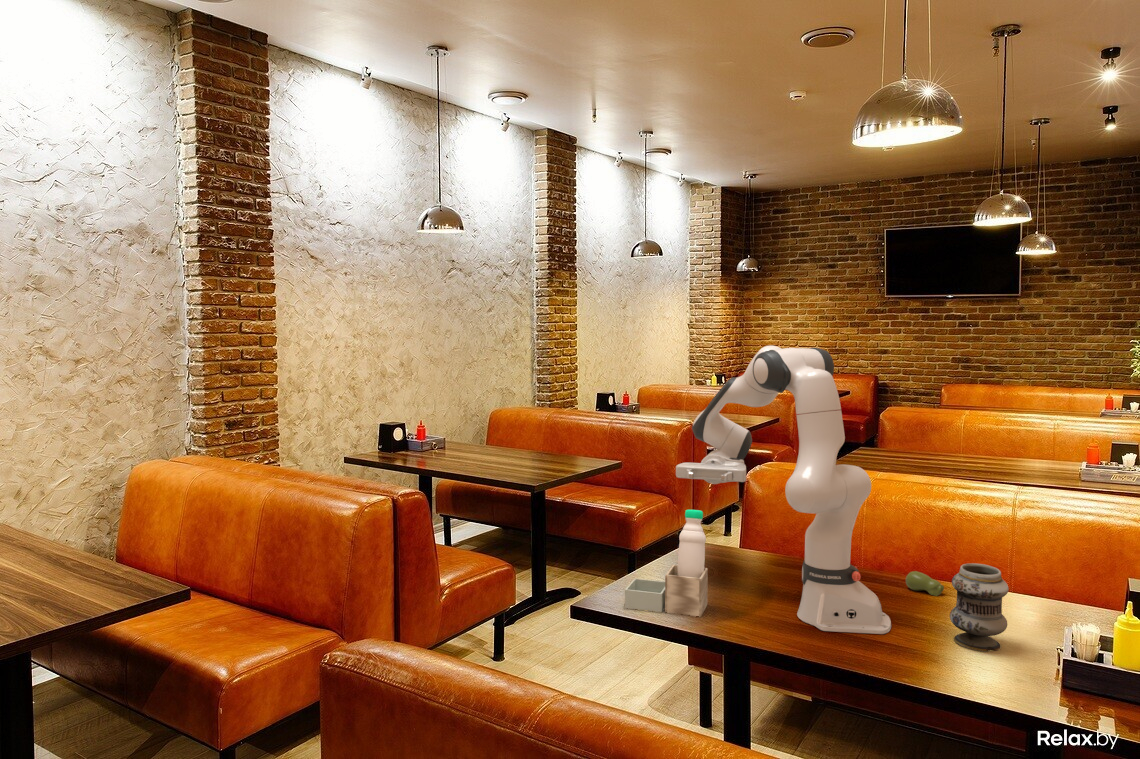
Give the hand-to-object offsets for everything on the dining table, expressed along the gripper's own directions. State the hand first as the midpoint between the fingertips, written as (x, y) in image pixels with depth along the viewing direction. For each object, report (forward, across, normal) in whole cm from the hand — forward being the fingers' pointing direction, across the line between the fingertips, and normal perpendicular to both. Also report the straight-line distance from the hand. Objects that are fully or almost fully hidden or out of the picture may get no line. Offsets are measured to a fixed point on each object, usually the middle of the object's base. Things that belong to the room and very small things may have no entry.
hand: (706, 477), depth 224 cm
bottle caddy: (+18, -12, +32) cm, 39 cm away
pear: (-17, +58, +32) cm, 69 cm away
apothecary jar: (+18, +67, +32) cm, 77 cm away
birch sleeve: (+18, -2, +32) cm, 37 cm away
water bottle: (+19, -1, +31) cm, 36 cm away
